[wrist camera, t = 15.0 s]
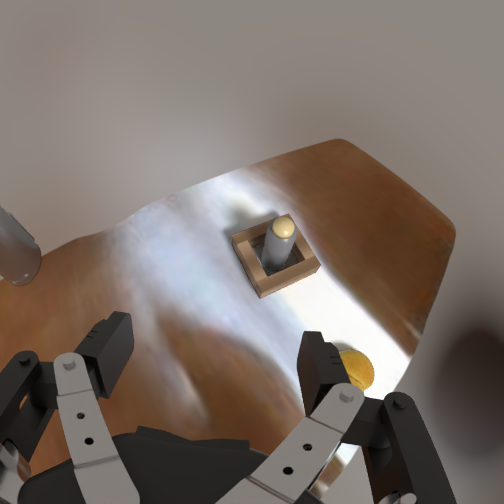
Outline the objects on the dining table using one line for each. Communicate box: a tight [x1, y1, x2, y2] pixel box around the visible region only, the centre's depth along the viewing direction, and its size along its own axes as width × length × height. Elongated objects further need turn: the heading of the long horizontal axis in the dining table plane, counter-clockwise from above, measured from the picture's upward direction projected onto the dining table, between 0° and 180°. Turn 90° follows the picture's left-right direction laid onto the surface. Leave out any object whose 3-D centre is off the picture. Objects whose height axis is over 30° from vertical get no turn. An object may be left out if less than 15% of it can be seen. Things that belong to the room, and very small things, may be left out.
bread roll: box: [339, 350, 374, 393], centre depth 37 cm, size 8×9×4 cm
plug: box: [261, 217, 298, 271], centre depth 42 cm, size 4×4×10 cm
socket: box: [232, 213, 321, 299], centre depth 45 cm, size 10×10×3 cm
